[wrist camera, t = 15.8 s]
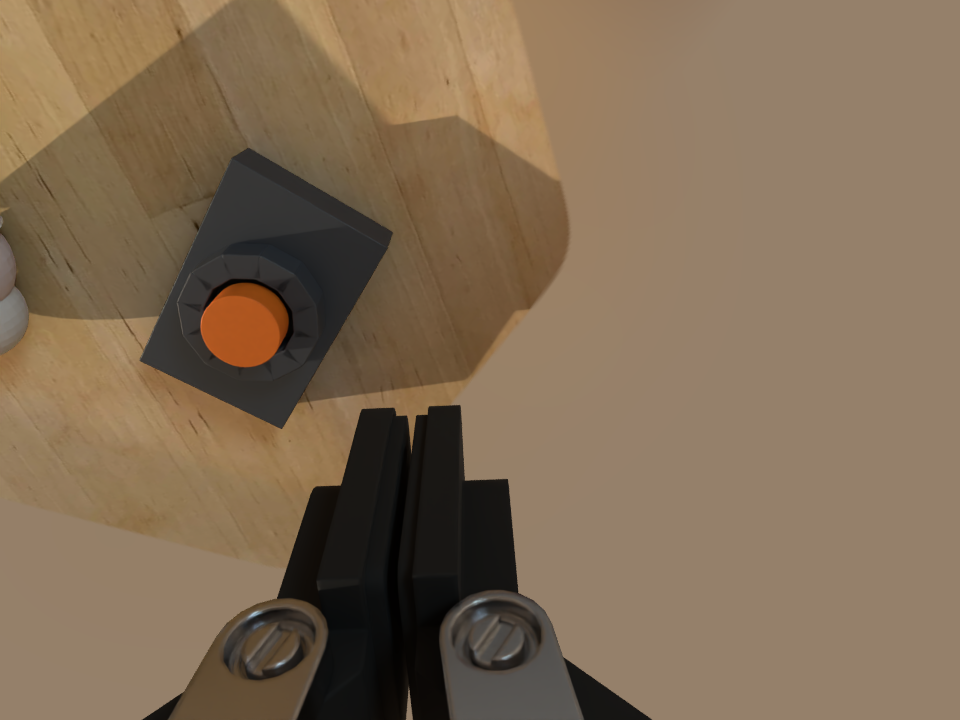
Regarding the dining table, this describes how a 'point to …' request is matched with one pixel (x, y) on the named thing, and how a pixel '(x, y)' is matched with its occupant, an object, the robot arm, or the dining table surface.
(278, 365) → the control block
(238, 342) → the button
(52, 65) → the dining table surface
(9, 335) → the ice cream cone
